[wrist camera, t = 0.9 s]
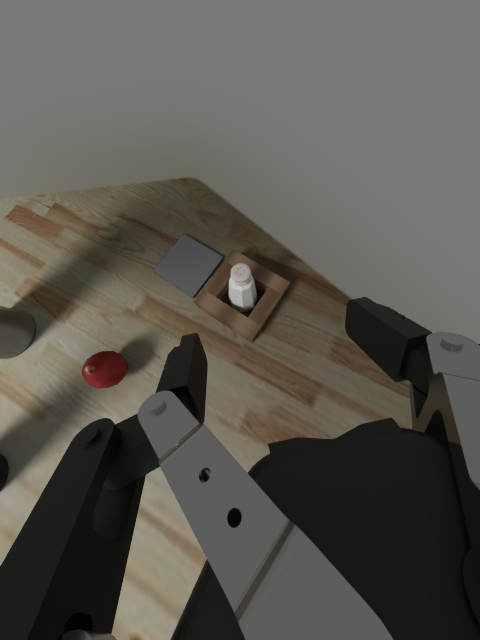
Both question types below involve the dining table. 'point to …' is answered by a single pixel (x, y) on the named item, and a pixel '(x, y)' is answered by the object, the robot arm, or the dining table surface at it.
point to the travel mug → (3, 470)
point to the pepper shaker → (242, 288)
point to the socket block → (232, 318)
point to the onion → (104, 369)
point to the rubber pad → (188, 265)
